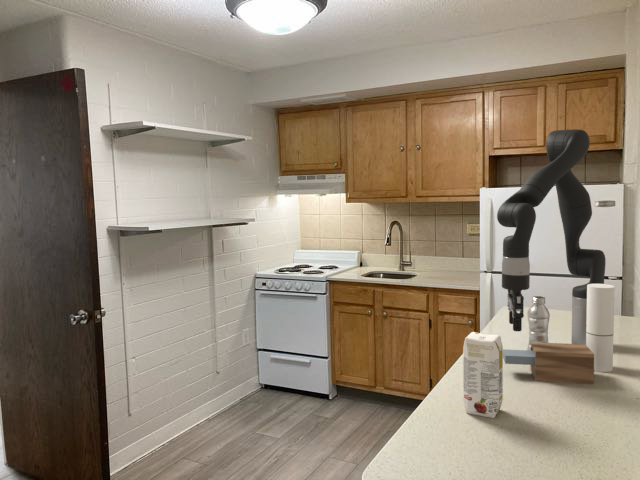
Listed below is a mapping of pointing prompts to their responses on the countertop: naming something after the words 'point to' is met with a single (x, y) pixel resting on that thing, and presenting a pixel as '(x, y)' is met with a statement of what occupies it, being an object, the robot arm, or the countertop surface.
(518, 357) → the cover plate
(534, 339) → the plastic bottle
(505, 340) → the countertop surface
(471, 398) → the juice carton
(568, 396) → the countertop surface
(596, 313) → the cylindrical container
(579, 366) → the brown box
